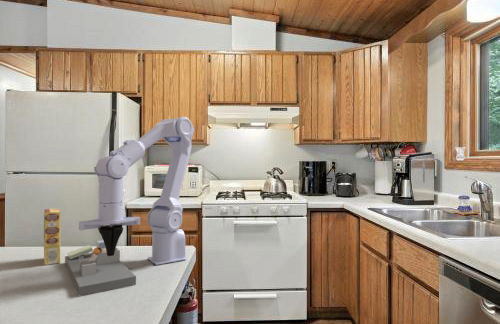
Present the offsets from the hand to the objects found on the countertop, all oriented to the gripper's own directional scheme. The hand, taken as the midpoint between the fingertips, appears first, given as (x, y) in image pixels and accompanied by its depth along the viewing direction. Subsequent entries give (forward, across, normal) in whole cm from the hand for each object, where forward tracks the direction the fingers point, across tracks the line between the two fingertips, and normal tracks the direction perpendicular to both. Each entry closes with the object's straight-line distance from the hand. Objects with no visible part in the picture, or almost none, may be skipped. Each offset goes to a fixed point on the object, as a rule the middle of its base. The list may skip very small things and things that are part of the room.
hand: (110, 255), depth 83 cm
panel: (+5, +2, -5) cm, 8 cm away
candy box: (+6, +11, -25) cm, 28 cm away
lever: (+2, +5, 0) cm, 6 cm away
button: (+3, -1, -8) cm, 9 cm away
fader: (+3, -1, -16) cm, 16 cm away
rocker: (+2, +5, -16) cm, 17 cm away
